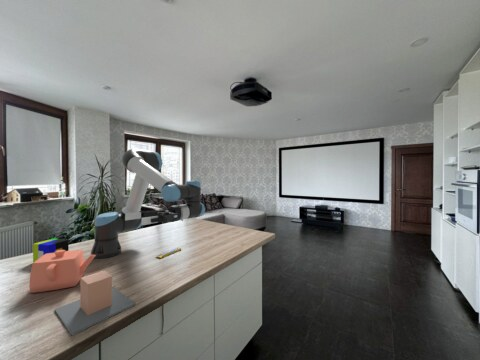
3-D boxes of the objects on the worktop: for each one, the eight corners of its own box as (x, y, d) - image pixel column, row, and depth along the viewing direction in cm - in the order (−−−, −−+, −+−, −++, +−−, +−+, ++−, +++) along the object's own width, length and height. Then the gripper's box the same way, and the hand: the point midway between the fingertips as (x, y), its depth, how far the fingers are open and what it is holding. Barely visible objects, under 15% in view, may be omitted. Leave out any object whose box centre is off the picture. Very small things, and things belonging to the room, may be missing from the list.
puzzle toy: (48, 265, 105) (48, 245, 105) (33, 263, 107) (33, 243, 107) (68, 257, 115) (68, 239, 115) (53, 256, 117) (54, 238, 117)
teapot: (20, 302, 74) (20, 263, 74) (48, 275, 94) (48, 245, 94) (88, 291, 82) (88, 255, 82) (100, 268, 102) (100, 240, 102)
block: (80, 307, 71) (80, 277, 71) (103, 297, 76) (103, 270, 76) (87, 315, 67) (88, 284, 66) (111, 304, 72) (112, 276, 72)
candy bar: (177, 249, 132) (177, 246, 132) (182, 250, 130) (182, 247, 129) (154, 258, 117) (154, 254, 117) (159, 259, 115) (159, 256, 115)
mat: (54, 310, 70) (54, 308, 70) (113, 288, 84) (113, 286, 84) (71, 335, 59) (71, 333, 59) (135, 305, 73) (135, 303, 73)
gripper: (194, 224, 94) (149, 233, 77) (162, 217, 109) (119, 224, 92) (194, 207, 94) (150, 213, 77) (162, 203, 109) (119, 207, 92)
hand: (133, 219), depth 84 cm, fingers open, 13 cm apart
